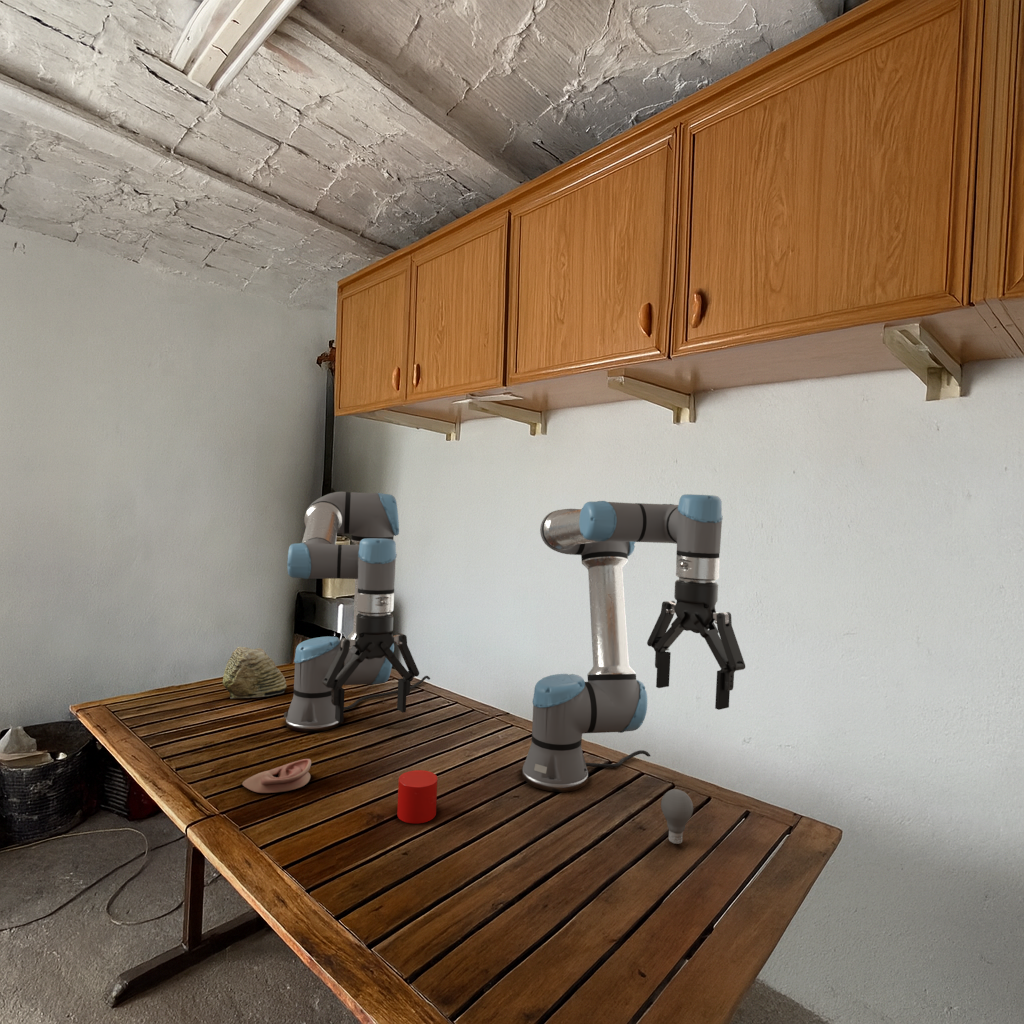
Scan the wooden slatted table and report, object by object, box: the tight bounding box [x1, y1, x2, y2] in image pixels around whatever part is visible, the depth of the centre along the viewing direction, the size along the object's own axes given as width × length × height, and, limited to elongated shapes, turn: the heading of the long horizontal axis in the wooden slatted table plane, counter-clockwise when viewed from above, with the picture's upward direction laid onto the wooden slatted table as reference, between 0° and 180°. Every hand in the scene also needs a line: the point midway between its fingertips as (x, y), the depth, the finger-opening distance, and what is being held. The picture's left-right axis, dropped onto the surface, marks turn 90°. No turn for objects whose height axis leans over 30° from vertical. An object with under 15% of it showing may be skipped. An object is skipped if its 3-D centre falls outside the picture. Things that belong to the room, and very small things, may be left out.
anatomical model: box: [241, 758, 312, 794], centre depth 139 cm, size 13×4×12 cm
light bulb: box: [660, 788, 694, 845], centre depth 121 cm, size 6×6×10 cm
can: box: [396, 769, 438, 825], centre depth 128 cm, size 8×8×7 cm
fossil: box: [222, 646, 288, 699], centre depth 198 cm, size 9×18×15 cm, turn 132°
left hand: (371, 715), depth 131 cm, fingers open, 13 cm apart
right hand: (690, 697), depth 115 cm, fingers open, 13 cm apart
